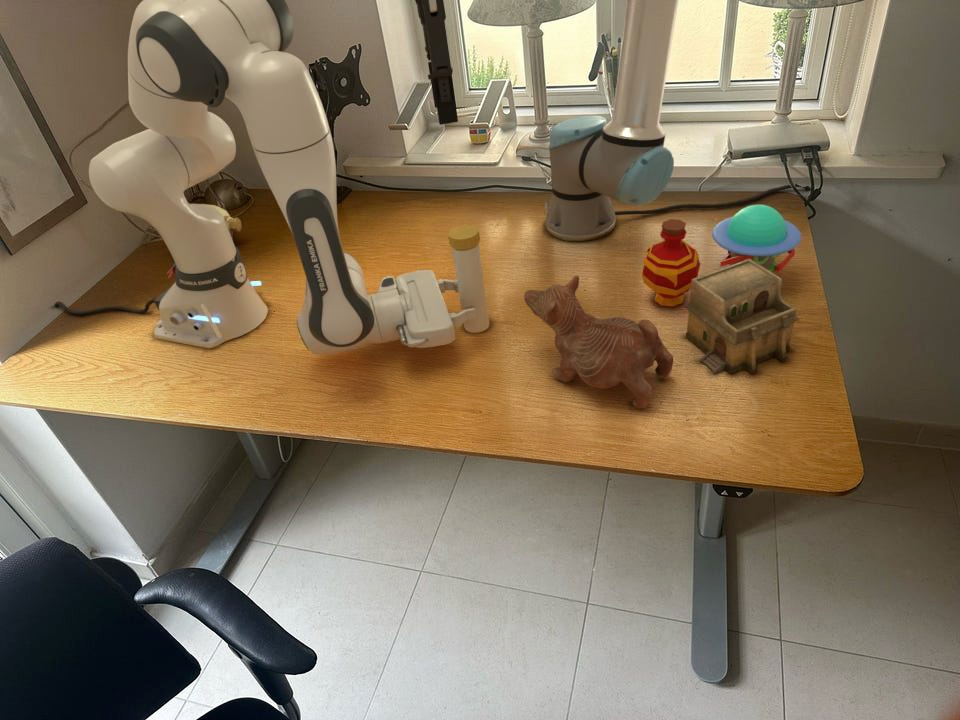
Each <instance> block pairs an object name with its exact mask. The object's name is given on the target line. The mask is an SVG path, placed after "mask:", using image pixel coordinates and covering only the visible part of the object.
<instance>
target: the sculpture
mask: <svg viewBox="0 0 960 720" xmlns="http://www.w3.org/2000/svg"><path fill="white" fill-rule="evenodd" d="M579 283H580V276H579V275H576V274H575V275H574V276H573V277H572V278H571V279H570V280H569V282H568V283H567V284H565V285H561V284H556V285H555V284H554V285H551V286H549V287H548V288H546V289H545V290H540V289H528V290H526V291H525V293H524V294H523V298H524V303H525V304H526V306H527V307H528V308H529V309H530V310H531V312H532V314H533V315H535V316H536V317H538V318H539V319H540V320H541V321H543V323H545V325H547V326H549V327H550V329H552V330H553V331H554V332H555V337H554V345H555V346H554V347H555V348H556V350H557V352H558V353H559V354H560V355H561V356H562V359H561V363H560V366H557V367H556V366H555V367H554V368H553V370H552V377H553V378H555V379H556V380H559V381H561V382H563V383H570V382H572V380H574V379H575V377H576V374H578V376H579V378H580V379H581V380H582V381H583V382H584V383H585V384H586V385H588V386H590V387H592V388H596V389H610V388H613V387H615V386H618V385H620V384H621V383H623V385H624V386H625V387H626V388H627V389H628V390H629V391H630V392H632V393H633V395H634V396H635V397H634V398H633V400H632V406H634V407H635V408H637V409H646V408H647V407H648V405H649V403H650V400H651V398H652V396H653V394H654V390H653V387H652V386H651V384H650V383H649V382H648V381H647V380H646V378H645V370H647V369H649V368H651V367H653V366H654V365H655V362H656V364H657V365H656V367H655V369H654V371H655V374H656V375H658V376H659V377H663V378H665V377H668V376H669V375H670V374H671V373H672V369H673V365H674V356H673V354H672V353H671V352H670V351H669V350H668V348H667V347H666V346H665V344H664V343H663V341H662V340H661V337H660V335H659V331H658V328H657V327H656V325H655V324H654V323H653V322H652V321H651V320H649V319H641V320H640V321H639V322H636V321H635V320H633V319H630V318H626V317H621V316H619V317H618V316H616V317H608V318H607V317H606V318H598V317H596V316H594V315H591V314H589V313H586V312H585V310H584V309H583V307H582V305H581V303H580V301H579V299H578V297H577V295H576V292H577V290H578V288H579Z"/></svg>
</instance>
